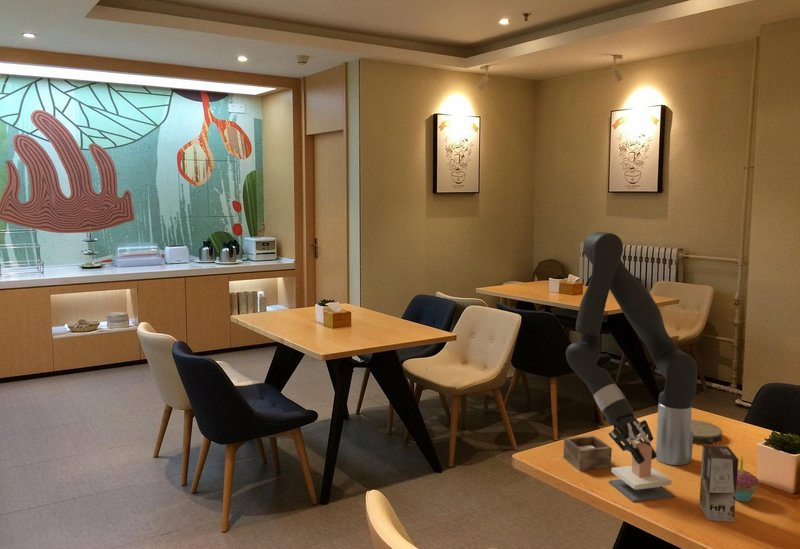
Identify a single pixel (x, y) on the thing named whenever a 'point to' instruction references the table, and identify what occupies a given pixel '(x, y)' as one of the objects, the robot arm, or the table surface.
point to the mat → (640, 492)
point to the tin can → (705, 432)
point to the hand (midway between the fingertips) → (647, 460)
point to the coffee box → (718, 483)
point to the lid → (642, 471)
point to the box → (587, 453)
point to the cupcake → (745, 484)
